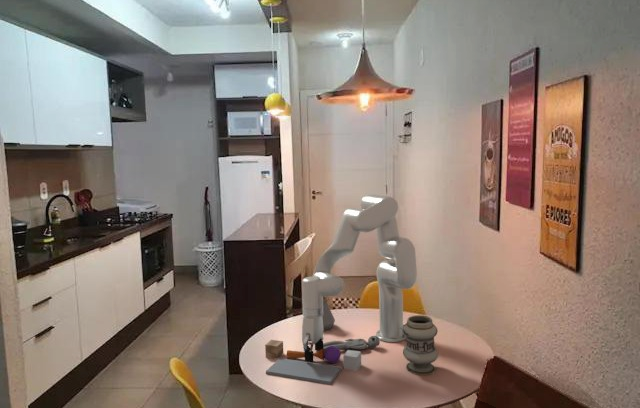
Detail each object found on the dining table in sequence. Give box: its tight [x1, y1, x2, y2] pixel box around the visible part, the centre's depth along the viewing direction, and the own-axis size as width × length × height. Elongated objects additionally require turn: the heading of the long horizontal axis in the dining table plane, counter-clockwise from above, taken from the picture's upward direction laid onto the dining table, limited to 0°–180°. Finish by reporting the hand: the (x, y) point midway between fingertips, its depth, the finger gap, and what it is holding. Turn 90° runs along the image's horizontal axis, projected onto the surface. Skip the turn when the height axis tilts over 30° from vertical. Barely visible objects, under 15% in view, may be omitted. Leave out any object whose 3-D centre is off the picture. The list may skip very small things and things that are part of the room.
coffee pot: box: [285, 294, 336, 331], centre depth 204 cm, size 21×12×15 cm, turn 87°
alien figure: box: [315, 335, 381, 353], centre depth 181 cm, size 8×5×25 cm
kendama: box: [286, 346, 342, 364], centre depth 172 cm, size 6×6×20 cm
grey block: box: [342, 349, 362, 372], centre depth 166 cm, size 5×5×5 cm
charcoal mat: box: [265, 357, 342, 385], centre depth 163 cm, size 24×11×1 cm, turn 68°
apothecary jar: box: [402, 314, 439, 376], centre depth 162 cm, size 12×12×18 cm
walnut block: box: [264, 339, 284, 360], centre depth 177 cm, size 5×5×5 cm
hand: (314, 355), depth 172 cm, fingers open, 9 cm apart
